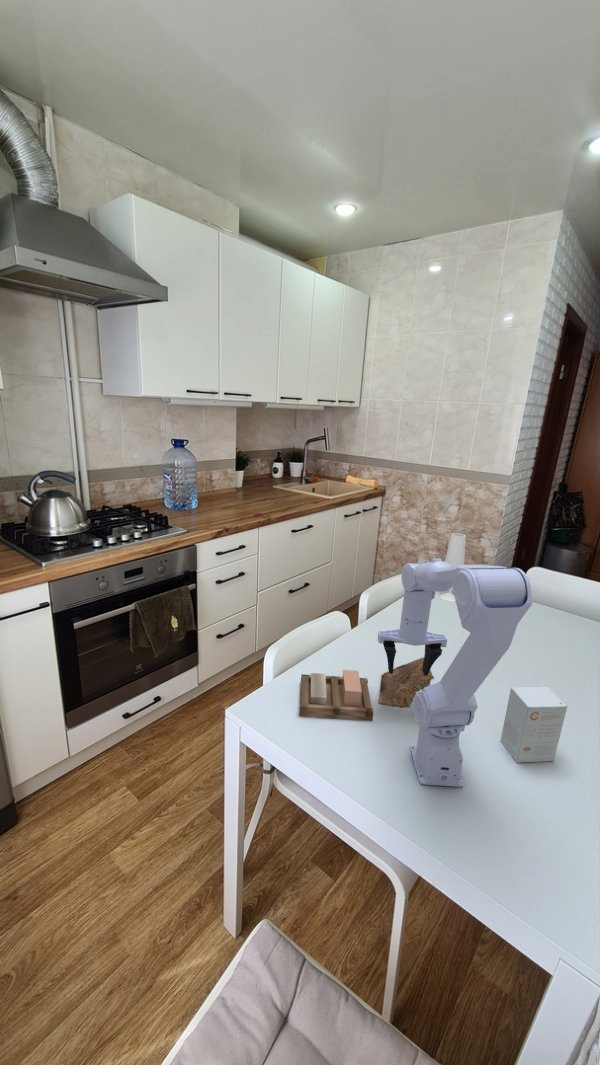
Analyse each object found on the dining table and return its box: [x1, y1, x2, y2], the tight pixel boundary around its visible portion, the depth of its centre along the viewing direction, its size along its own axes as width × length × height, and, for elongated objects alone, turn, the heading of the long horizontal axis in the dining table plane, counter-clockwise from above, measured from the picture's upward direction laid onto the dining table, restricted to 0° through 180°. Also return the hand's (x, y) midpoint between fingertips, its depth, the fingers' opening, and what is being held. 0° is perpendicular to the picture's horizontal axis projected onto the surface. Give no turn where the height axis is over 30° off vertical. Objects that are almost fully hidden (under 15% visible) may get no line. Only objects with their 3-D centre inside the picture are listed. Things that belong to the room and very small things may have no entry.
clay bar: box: [341, 669, 362, 707], centre depth 102 cm, size 8×4×5 cm, turn 178°
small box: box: [500, 686, 568, 763], centre depth 89 cm, size 8×6×13 cm
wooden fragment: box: [378, 657, 435, 708], centre depth 112 cm, size 26×11×1 cm, turn 140°
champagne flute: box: [439, 532, 467, 603], centre depth 160 cm, size 7×7×24 cm
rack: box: [299, 672, 375, 722], centre depth 103 cm, size 16×12×4 cm
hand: (407, 672), depth 99 cm, fingers open, 7 cm apart
